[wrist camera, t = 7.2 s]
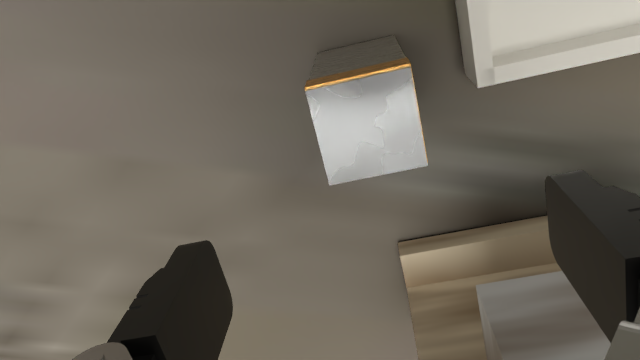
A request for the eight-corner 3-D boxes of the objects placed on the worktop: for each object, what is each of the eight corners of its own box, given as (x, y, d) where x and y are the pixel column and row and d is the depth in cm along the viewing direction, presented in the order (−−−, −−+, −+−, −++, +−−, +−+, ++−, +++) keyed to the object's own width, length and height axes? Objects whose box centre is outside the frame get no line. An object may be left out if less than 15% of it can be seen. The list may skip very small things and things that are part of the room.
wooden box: (387, 195, 30) (441, 556, 12) (684, 137, 28) (1294, 478, 10) (414, 321, 33) (487, 745, 16) (680, 279, 31) (1122, 720, 13)
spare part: (316, 52, 27) (303, 90, 20) (394, 33, 26) (411, 65, 19) (334, 126, 28) (328, 186, 21) (408, 109, 28) (429, 166, 21)
